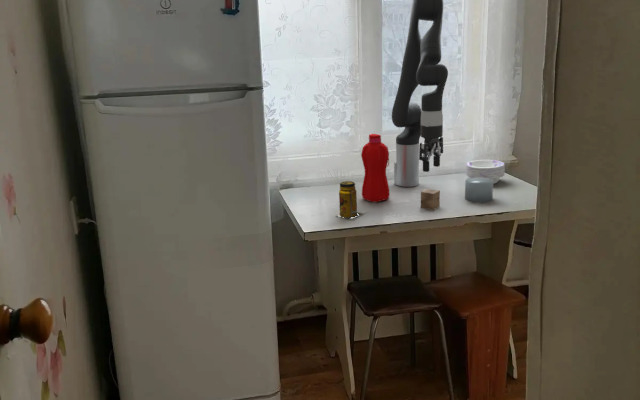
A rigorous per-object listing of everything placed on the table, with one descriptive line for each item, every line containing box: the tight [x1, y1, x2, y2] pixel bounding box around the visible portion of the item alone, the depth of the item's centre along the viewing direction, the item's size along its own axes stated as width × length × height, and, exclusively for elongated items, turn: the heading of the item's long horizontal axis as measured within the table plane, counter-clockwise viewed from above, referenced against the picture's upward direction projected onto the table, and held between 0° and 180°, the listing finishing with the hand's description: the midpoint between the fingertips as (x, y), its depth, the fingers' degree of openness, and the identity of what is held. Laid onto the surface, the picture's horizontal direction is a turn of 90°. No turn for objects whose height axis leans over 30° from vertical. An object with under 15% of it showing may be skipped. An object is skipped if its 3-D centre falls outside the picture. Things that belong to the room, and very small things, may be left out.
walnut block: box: [420, 188, 441, 211], centre depth 217 cm, size 5×5×6 cm
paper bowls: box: [465, 159, 506, 185], centre depth 247 cm, size 15×15×8 cm
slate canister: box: [464, 177, 494, 204], centre depth 224 cm, size 10×10×7 cm
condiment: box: [338, 180, 366, 219], centre depth 211 cm, size 7×8×12 cm
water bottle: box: [360, 133, 390, 203], centre depth 227 cm, size 9×11×25 cm
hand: (431, 168), depth 214 cm, fingers open, 8 cm apart
